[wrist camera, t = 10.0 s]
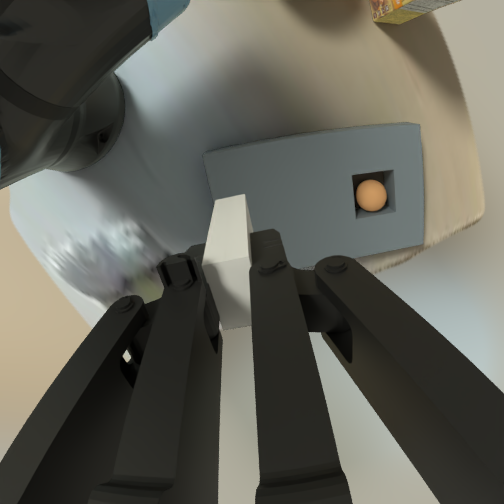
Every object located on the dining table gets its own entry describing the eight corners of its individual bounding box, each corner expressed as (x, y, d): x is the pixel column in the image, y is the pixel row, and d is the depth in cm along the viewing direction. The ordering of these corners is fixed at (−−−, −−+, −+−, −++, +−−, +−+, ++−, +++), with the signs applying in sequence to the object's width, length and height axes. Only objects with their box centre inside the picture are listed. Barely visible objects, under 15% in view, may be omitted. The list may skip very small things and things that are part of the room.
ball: (352, 211, 40) (370, 218, 36) (347, 182, 38) (365, 186, 35) (375, 203, 40) (394, 209, 37) (371, 174, 39) (390, 178, 35)
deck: (234, 267, 44) (233, 280, 41) (206, 151, 37) (202, 155, 34) (412, 234, 42) (423, 244, 39) (406, 122, 35) (419, 124, 32)
